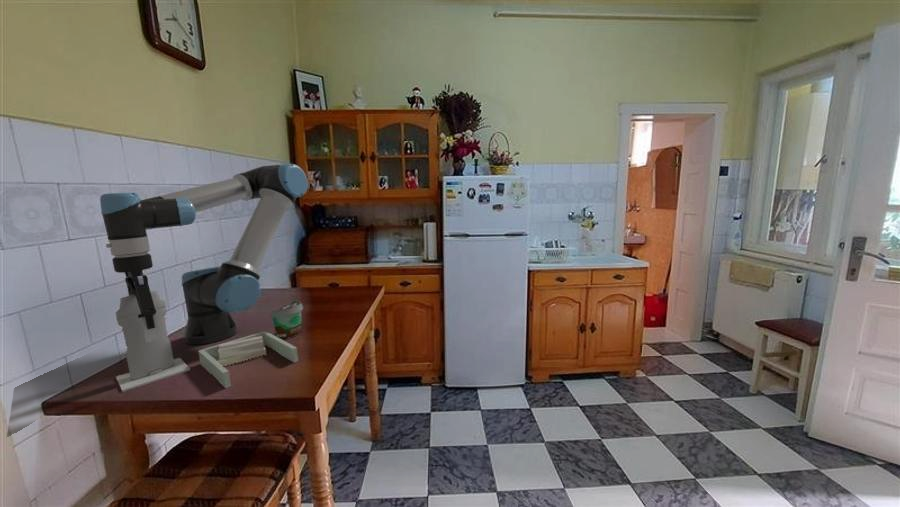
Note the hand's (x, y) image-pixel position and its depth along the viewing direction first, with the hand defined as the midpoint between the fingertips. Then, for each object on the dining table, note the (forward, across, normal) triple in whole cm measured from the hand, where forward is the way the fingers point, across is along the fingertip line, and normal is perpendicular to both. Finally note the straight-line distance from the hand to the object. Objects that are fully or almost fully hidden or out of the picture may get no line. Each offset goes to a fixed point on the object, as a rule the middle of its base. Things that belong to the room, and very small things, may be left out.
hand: (147, 334), depth 97 cm
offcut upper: (+9, +9, +19) cm, 23 cm away
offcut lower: (+12, +9, +18) cm, 24 cm away
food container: (+12, +3, +37) cm, 39 cm away
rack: (+11, +14, +19) cm, 26 cm away
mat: (+11, 0, 0) cm, 11 cm away
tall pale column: (+11, 0, 0) cm, 11 cm away
